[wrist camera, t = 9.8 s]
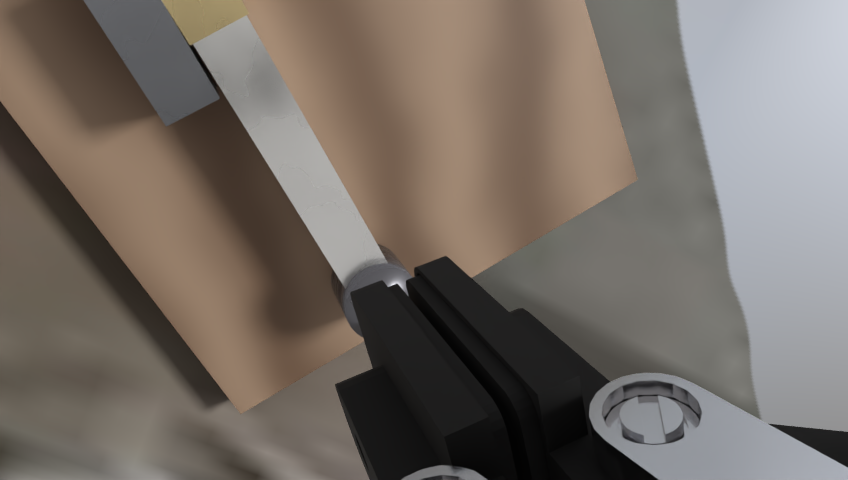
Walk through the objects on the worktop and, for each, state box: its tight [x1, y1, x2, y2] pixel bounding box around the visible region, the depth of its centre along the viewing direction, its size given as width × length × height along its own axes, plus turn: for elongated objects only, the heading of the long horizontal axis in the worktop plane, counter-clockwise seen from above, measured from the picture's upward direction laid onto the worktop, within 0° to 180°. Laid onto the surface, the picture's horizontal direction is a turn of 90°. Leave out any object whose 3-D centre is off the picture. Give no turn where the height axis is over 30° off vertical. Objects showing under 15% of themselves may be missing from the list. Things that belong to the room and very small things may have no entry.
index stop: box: [84, 0, 220, 127], centre depth 23 cm, size 2×5×4 cm, turn 24°
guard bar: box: [162, 0, 413, 337], centre depth 25 cm, size 15×3×3 cm, turn 26°
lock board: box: [0, 0, 638, 414], centre depth 27 cm, size 22×20×2 cm
